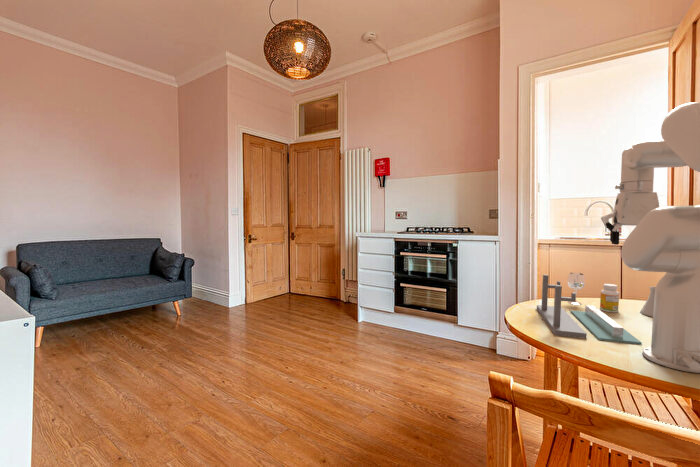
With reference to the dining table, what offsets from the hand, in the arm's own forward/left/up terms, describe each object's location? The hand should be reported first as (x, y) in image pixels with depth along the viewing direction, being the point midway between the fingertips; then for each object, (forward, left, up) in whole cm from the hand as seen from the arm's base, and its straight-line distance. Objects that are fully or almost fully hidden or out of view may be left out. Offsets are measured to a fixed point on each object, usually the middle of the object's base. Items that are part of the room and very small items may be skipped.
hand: (633, 244), depth 101 cm
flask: (+22, -15, -27) cm, 38 cm away
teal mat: (+2, +7, -27) cm, 28 cm away
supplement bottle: (+23, -2, -27) cm, 36 cm away
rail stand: (+2, +19, -27) cm, 33 cm away
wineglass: (+30, +7, -27) cm, 41 cm away
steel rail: (+2, +6, -26) cm, 27 cm away
